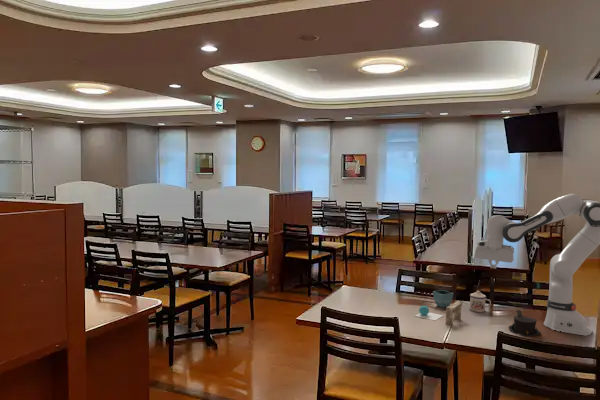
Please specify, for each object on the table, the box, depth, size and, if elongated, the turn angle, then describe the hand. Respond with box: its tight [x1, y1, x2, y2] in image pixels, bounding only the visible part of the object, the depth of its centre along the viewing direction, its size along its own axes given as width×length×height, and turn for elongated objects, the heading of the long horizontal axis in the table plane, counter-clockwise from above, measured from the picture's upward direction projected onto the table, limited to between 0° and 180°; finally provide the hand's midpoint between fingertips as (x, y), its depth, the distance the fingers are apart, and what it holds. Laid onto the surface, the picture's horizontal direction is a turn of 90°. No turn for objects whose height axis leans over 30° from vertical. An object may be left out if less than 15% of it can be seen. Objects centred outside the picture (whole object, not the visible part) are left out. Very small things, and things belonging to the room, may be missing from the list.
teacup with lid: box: [469, 290, 492, 313], centre depth 277 cm, size 12×9×12 cm
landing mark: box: [414, 311, 444, 322], centre depth 264 cm, size 12×12×1 cm
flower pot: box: [432, 289, 454, 309], centre depth 283 cm, size 9×9×9 cm
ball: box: [418, 305, 430, 315], centre depth 265 cm, size 6×6×6 cm
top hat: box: [508, 309, 541, 337], centre depth 241 cm, size 15×15×10 cm
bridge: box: [445, 301, 462, 326], centre depth 255 cm, size 3×14×9 cm, turn 141°
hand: (493, 268), depth 260 cm, fingers closed
